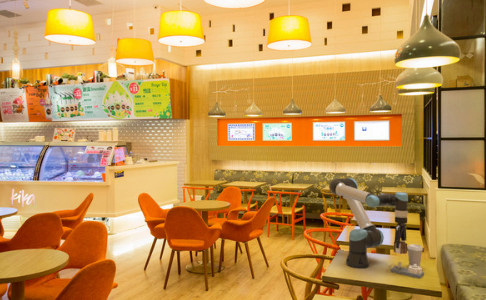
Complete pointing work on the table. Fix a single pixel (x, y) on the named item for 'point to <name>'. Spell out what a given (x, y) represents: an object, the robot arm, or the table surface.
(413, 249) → the coffee cup
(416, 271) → the gear board
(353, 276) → the table surface
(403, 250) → the walnut gear
